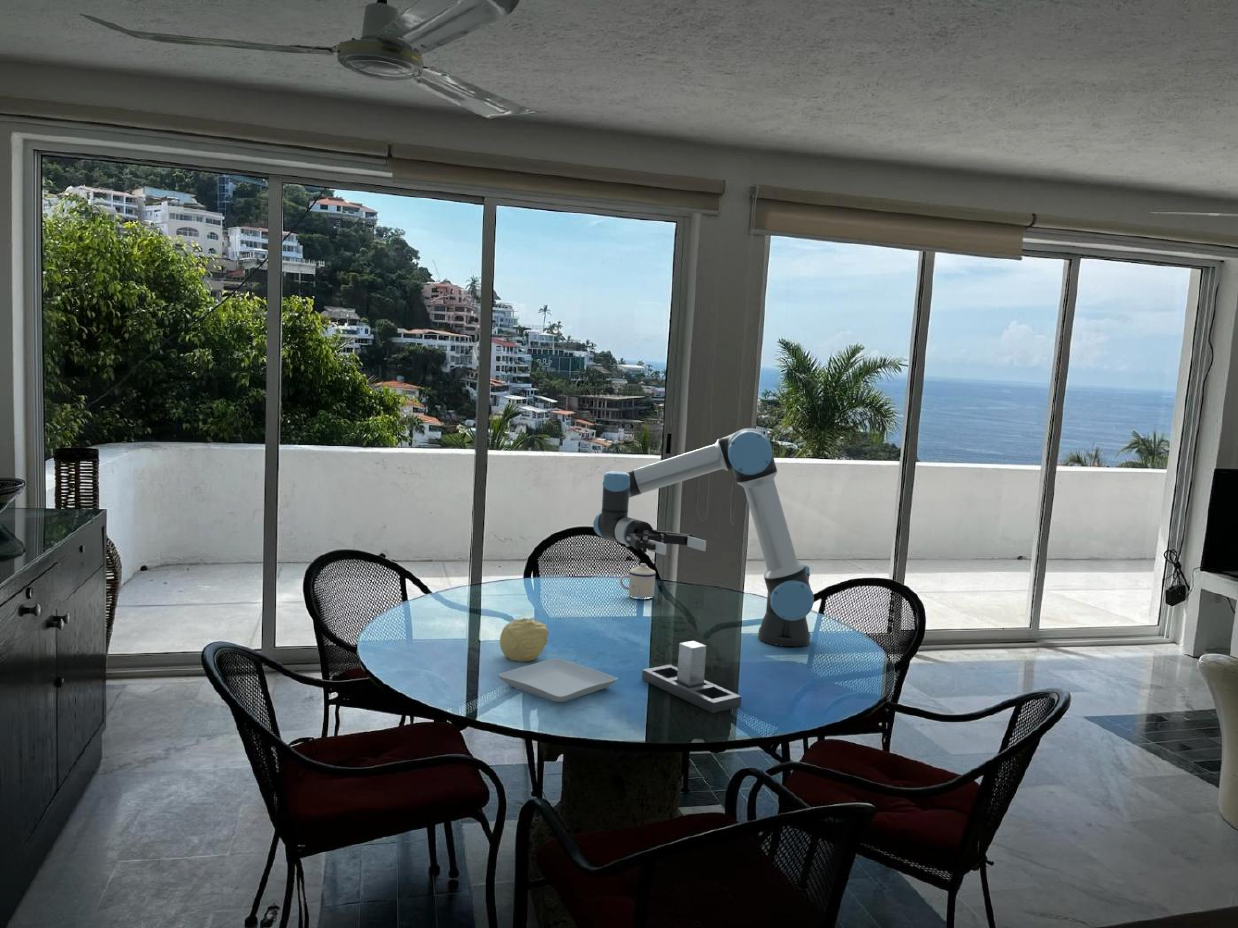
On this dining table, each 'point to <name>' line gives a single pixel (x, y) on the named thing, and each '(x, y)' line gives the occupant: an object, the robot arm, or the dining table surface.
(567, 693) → the salad plate
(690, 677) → the grey upright post
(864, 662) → the dining table surface
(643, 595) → the teacup with lid
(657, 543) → the robot arm
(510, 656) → the yellow round lump
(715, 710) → the rack rail
